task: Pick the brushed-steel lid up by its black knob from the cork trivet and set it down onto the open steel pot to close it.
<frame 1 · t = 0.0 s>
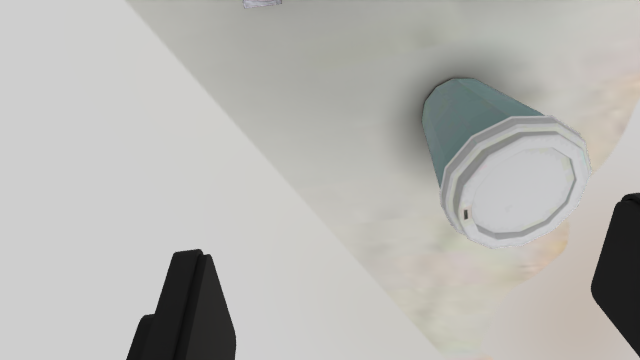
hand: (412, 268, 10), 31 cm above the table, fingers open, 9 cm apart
disposable coffee cup: (454, 111, 43), on the table
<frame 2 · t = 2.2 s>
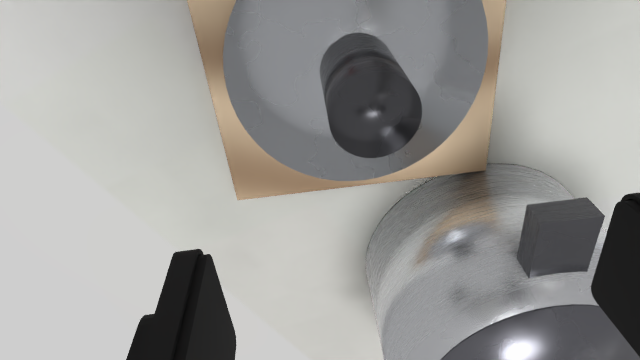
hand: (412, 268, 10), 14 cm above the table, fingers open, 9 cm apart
pot: (471, 255, 29), on the table
lid: (354, 63, 21), point 1 cm above the table, touching trivet
trivet: (352, 59, 22), on the table
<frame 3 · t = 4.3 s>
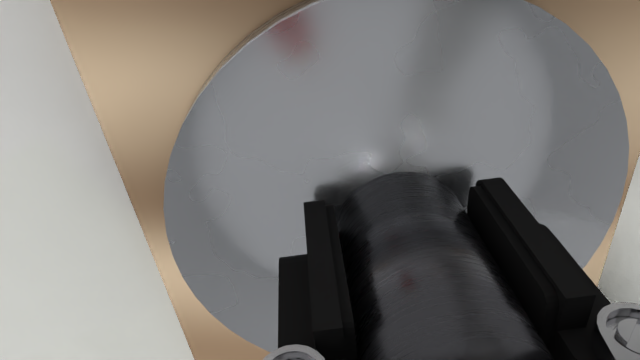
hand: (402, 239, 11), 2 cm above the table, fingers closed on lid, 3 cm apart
lid: (390, 205, 13), point 1 cm above the table, touching gripper, trivet
trivet: (385, 193, 13), on the table
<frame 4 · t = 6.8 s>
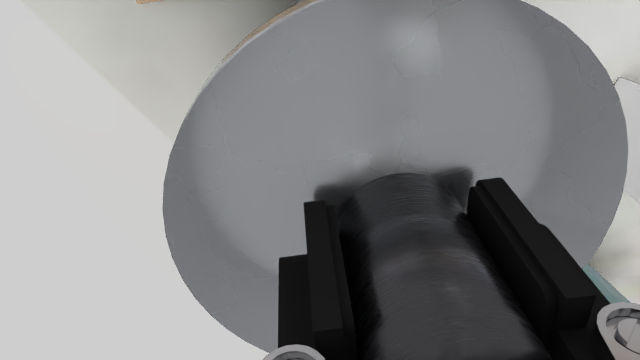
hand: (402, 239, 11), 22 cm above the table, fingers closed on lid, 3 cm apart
milk: (623, 120, 35), on the table
lid: (389, 206, 13), point 20 cm above the table, touching gripper
disposable coffee cup: (543, 271, 44), on the table
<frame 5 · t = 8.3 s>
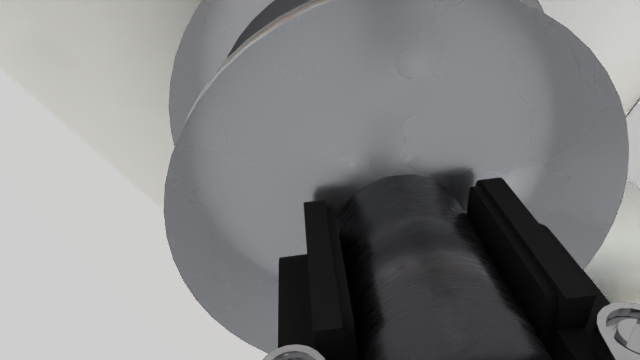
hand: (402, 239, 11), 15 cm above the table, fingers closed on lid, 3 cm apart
pot: (338, 57, 24), on the table
lid: (390, 207, 13), point 14 cm above the table, touching gripper
when the fingers open (12 cm above the table, at t = 9.5 s): lid drops 2 cm, resting on pot.
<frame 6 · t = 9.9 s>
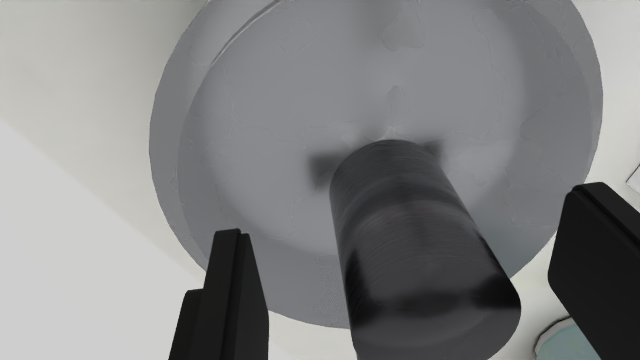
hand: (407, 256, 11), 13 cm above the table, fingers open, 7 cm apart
pot: (344, 79, 22), on the table
lid: (380, 173, 14), point 9 cm above the table, touching pot
disposable coffee cup: (573, 340, 34), on the table
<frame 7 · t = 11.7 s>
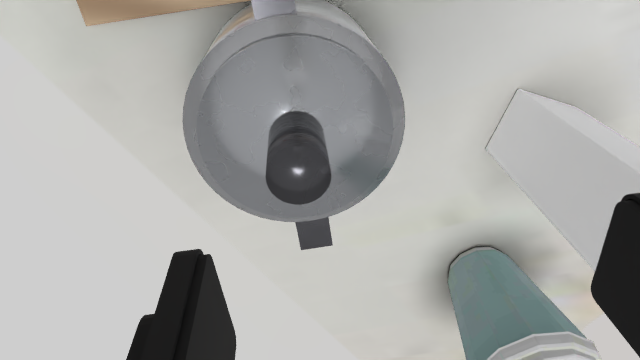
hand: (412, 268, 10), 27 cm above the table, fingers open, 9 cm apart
pot: (293, 86, 36), on the table
milk: (528, 127, 40), on the table
lid: (296, 130, 28), point 9 cm above the table, touching pot
disposable coffee cup: (476, 269, 48), on the table
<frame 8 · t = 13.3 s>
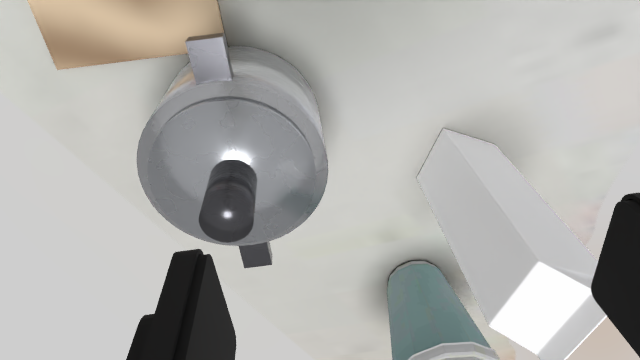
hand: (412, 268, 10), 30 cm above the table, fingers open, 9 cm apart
pot: (243, 122, 41), on the table
milk: (454, 160, 45), on the table
lid: (234, 172, 33), point 9 cm above the table, touching pot
disposable coffee cup: (413, 280, 53), on the table
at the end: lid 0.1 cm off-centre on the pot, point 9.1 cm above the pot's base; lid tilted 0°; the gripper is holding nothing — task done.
